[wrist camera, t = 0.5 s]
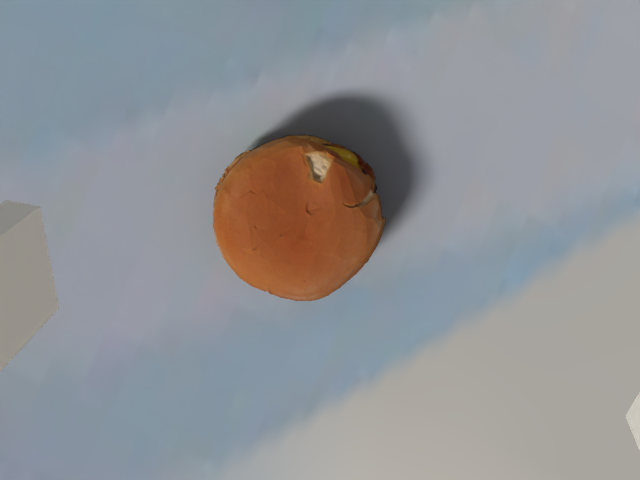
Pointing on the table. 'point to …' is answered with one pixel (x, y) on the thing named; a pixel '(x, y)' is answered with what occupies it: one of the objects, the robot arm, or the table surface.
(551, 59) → the table surface
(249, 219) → the burger
